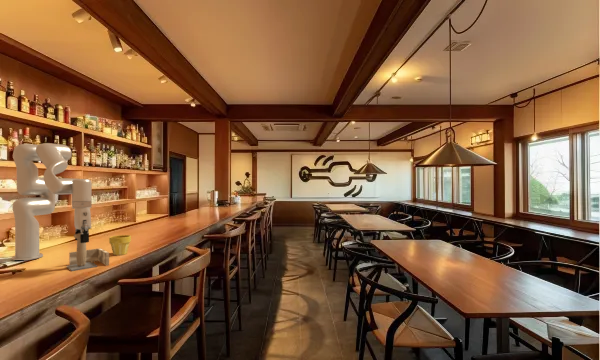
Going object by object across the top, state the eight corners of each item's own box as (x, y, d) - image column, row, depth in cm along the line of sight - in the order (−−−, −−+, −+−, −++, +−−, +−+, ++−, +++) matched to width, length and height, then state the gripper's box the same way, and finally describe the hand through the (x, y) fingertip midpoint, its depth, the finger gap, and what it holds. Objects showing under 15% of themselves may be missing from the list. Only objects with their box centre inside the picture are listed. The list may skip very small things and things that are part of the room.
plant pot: (119, 251, 177) (119, 234, 177) (135, 252, 175) (135, 235, 175) (104, 255, 167) (104, 237, 167) (121, 256, 164) (121, 238, 164)
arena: (69, 264, 148) (69, 252, 148) (100, 259, 158) (100, 248, 158) (76, 270, 139) (76, 257, 139) (109, 265, 148) (109, 252, 148)
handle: (71, 267, 142) (71, 235, 142) (81, 263, 148) (81, 232, 148) (81, 267, 142) (81, 235, 142) (91, 263, 148) (91, 232, 148)
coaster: (66, 267, 145) (66, 265, 145) (91, 262, 152) (91, 261, 152) (71, 271, 138) (71, 270, 138) (97, 266, 145) (97, 265, 145)
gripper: (96, 205, 142) (96, 242, 142) (86, 203, 154) (86, 237, 154) (76, 206, 136) (76, 245, 136) (67, 204, 148) (67, 240, 148)
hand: (81, 241), depth 145 cm, fingers open, 9 cm apart
